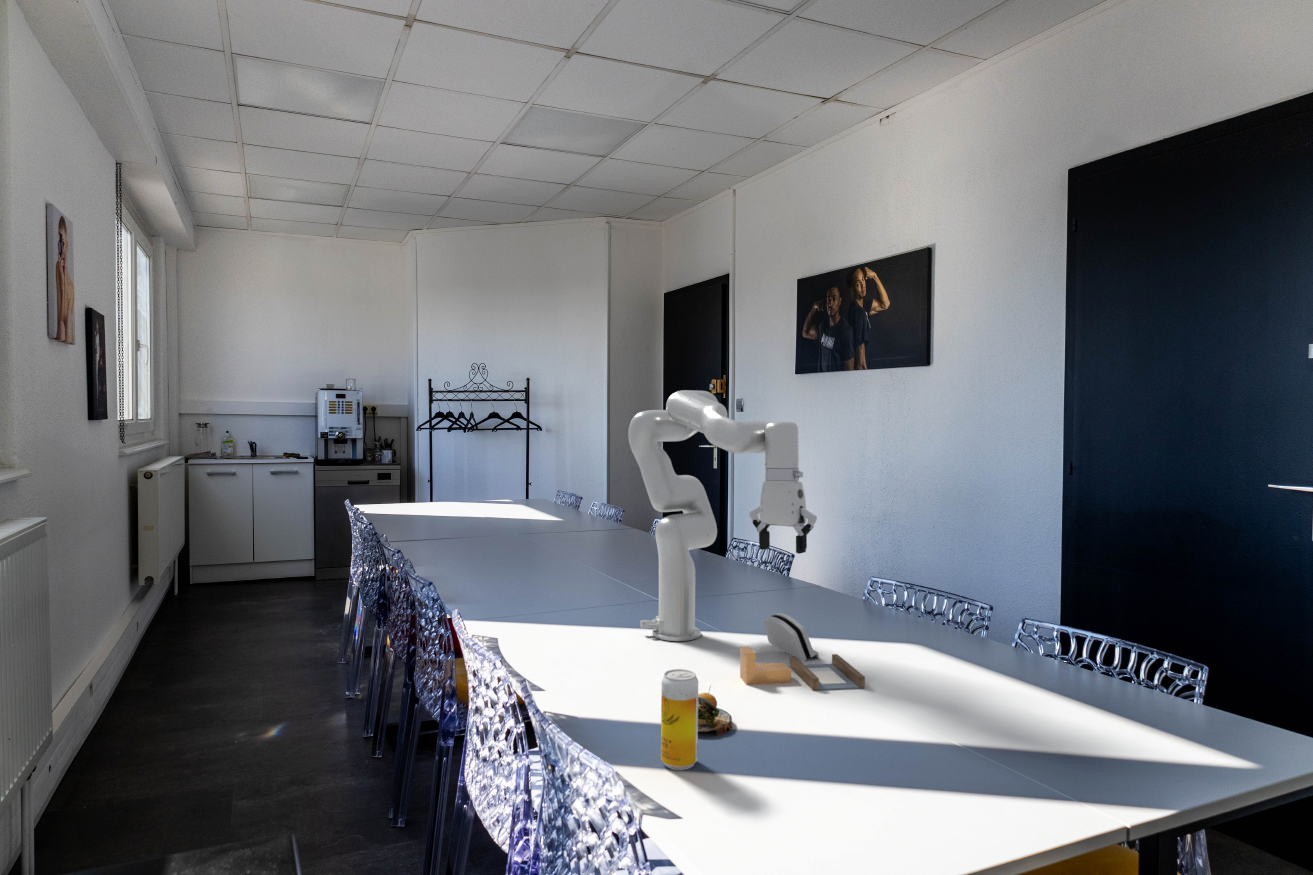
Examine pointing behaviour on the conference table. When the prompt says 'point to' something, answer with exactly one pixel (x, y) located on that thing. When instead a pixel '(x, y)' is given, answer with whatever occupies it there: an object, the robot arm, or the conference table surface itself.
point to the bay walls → (836, 661)
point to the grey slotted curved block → (789, 636)
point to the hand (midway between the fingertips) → (782, 550)
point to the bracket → (761, 670)
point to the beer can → (679, 719)
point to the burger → (712, 715)
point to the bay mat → (831, 677)
